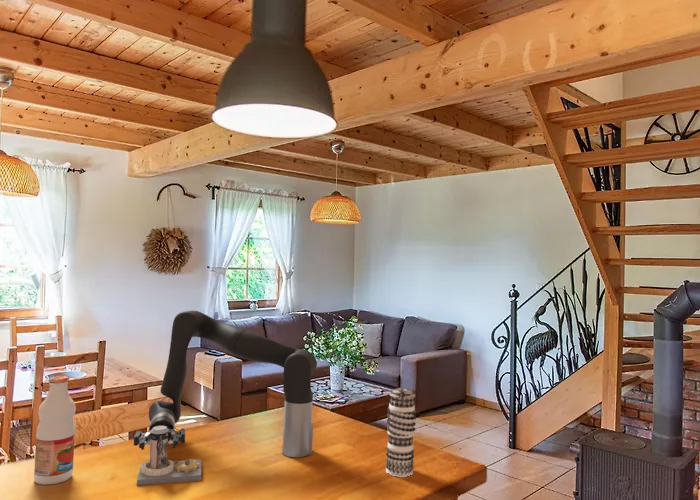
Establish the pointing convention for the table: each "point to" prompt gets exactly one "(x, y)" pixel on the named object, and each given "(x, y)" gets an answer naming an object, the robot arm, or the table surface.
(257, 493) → the table surface
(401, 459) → the decorative candle
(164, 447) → the beer can
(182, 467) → the gear board
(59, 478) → the fruit juice
